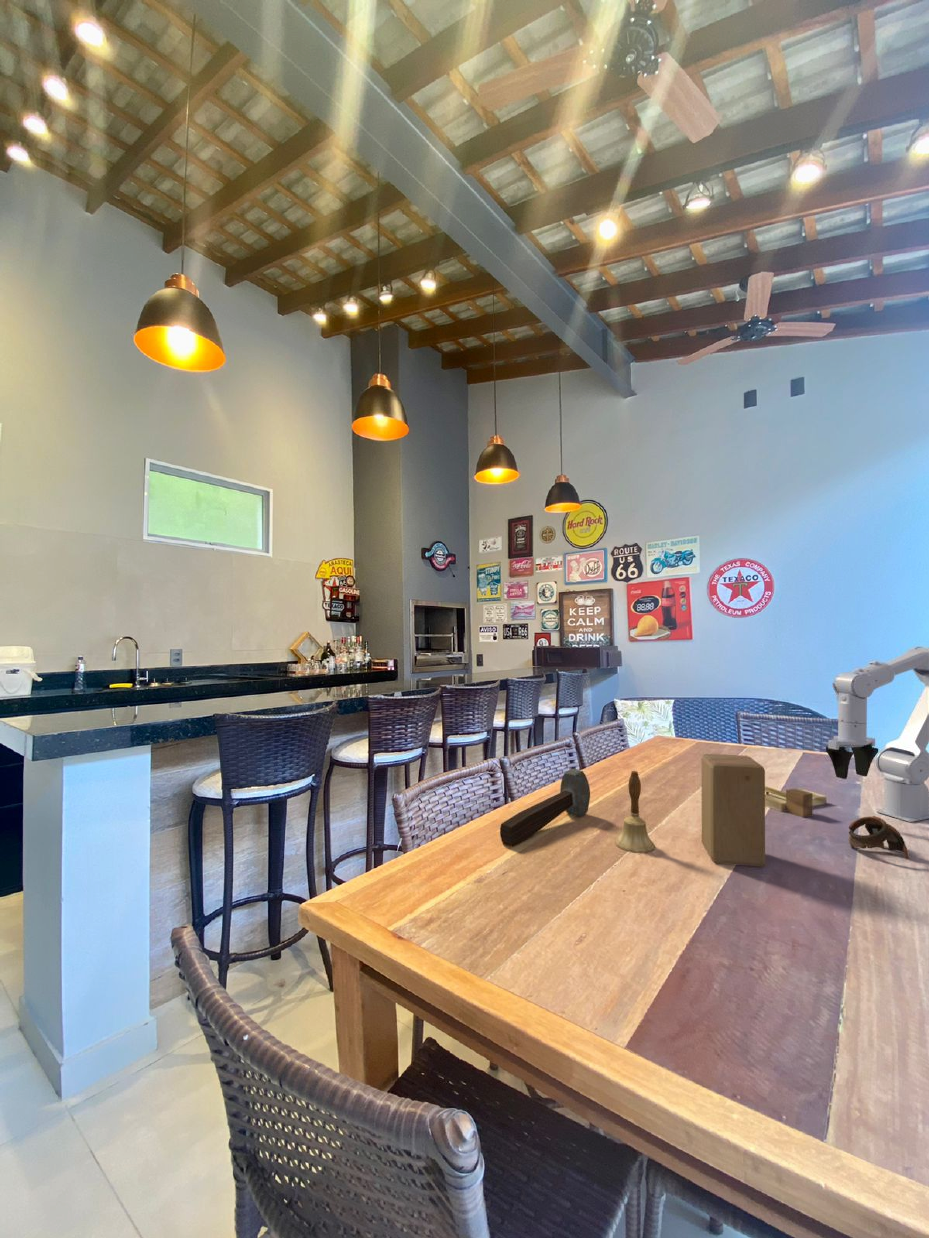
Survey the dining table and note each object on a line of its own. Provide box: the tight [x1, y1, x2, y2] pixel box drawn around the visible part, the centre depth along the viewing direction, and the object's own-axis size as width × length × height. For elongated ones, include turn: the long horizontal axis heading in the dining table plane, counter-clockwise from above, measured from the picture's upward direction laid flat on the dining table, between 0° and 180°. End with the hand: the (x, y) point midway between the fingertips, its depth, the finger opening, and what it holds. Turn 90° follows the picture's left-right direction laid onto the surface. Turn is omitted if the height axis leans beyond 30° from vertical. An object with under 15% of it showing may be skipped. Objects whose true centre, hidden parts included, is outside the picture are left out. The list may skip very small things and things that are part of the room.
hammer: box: [499, 768, 591, 847], centre depth 126 cm, size 5×11×30 cm
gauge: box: [765, 786, 814, 818], centre depth 140 cm, size 4×12×6 cm, turn 22°
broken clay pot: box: [848, 815, 910, 860], centre depth 114 cm, size 12×10×8 cm
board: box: [765, 788, 827, 813], centre depth 144 cm, size 17×7×2 cm, turn 112°
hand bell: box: [614, 770, 656, 853], centre depth 117 cm, size 8×8×16 cm
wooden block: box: [701, 753, 766, 868], centre depth 111 cm, size 10×10×20 cm
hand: (851, 776), depth 133 cm, fingers open, 7 cm apart
